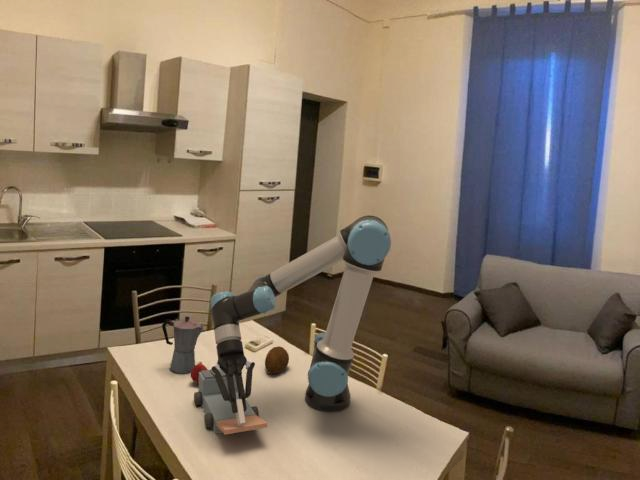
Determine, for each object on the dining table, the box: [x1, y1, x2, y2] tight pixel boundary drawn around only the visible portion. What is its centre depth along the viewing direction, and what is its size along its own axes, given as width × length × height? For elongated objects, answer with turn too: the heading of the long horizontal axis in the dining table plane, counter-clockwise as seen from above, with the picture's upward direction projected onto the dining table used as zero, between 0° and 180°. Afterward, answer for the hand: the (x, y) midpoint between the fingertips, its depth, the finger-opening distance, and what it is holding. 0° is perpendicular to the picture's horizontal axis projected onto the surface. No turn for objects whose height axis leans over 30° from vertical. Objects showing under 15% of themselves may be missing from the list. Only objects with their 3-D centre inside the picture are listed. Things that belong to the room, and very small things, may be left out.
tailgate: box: [216, 415, 268, 435], centre depth 151 cm, size 2×12×10 cm
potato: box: [264, 346, 290, 375], centre depth 198 cm, size 8×12×9 cm
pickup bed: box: [193, 368, 260, 434], centre depth 165 cm, size 22×16×10 cm
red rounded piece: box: [189, 361, 208, 385], centre depth 183 cm, size 6×6×8 cm
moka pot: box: [161, 316, 205, 374], centre depth 192 cm, size 10×15×20 cm, turn 89°
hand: (241, 424), depth 146 cm, fingers closed
